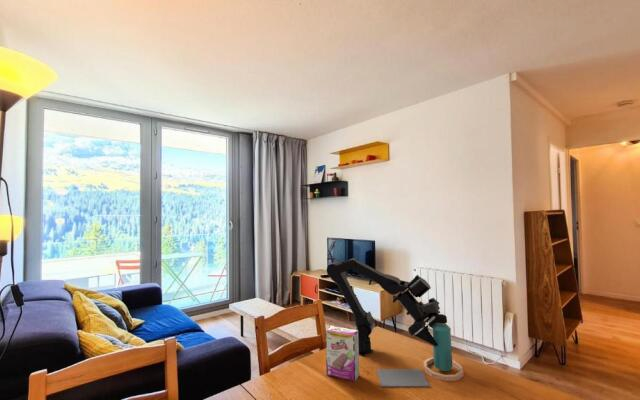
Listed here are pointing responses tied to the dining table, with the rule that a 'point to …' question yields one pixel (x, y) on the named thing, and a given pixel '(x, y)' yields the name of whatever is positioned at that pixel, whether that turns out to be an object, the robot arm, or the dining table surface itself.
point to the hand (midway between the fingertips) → (441, 341)
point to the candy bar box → (342, 353)
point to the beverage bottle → (442, 344)
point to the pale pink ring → (441, 376)
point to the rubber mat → (402, 378)
